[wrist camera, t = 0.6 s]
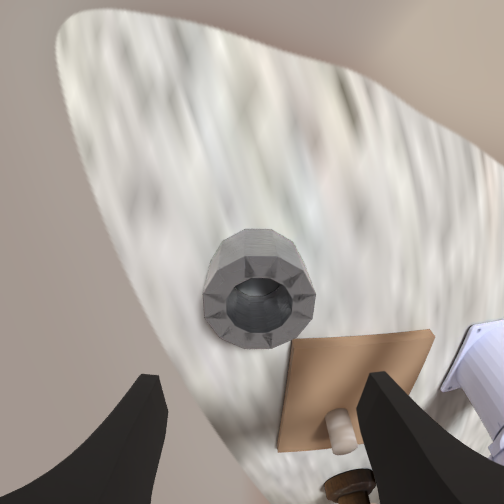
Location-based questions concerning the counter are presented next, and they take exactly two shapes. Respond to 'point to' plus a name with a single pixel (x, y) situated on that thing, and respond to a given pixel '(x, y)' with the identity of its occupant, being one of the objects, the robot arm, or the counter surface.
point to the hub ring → (258, 307)
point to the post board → (342, 385)
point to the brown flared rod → (351, 487)
